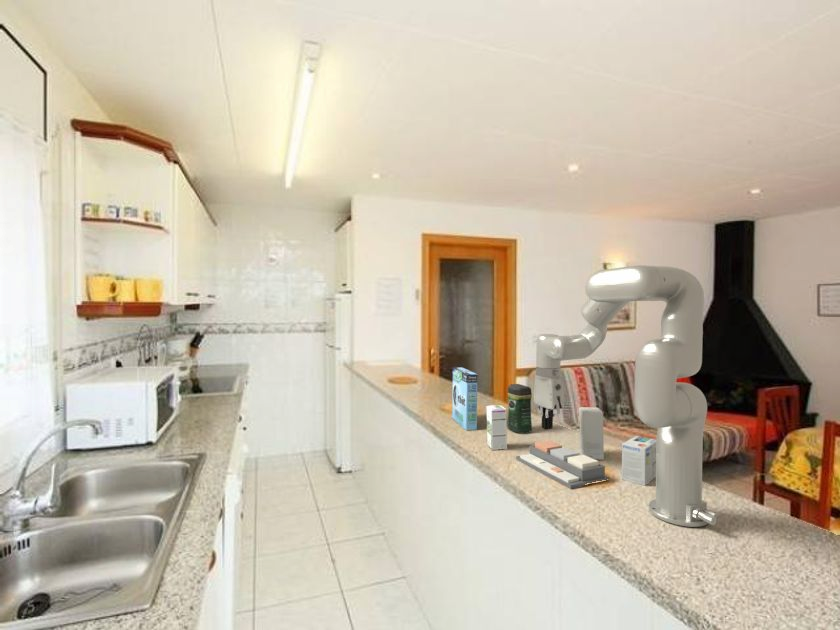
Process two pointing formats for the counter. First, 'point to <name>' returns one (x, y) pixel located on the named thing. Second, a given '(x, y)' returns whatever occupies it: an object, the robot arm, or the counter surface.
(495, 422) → the syrup box
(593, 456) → the skincare box
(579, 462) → the cream key
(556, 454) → the grey key
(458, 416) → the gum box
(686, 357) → the robot arm
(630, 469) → the light bulb box
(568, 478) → the keypad
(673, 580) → the counter surface
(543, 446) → the terracotta key
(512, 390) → the coffee jar
